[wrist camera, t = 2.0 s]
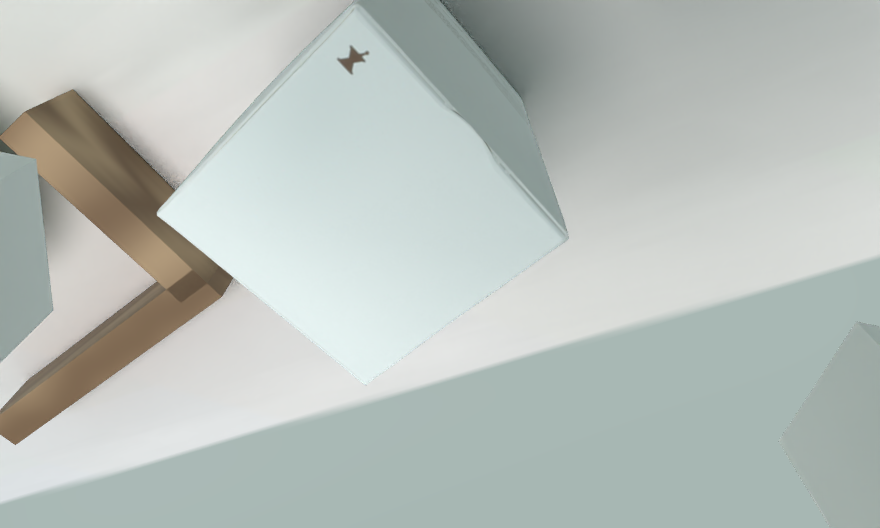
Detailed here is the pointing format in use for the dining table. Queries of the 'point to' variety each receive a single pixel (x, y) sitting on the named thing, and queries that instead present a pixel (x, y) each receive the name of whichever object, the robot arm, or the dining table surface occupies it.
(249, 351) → the dining table surface
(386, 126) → the supplement box
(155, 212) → the l-shaped wooden block
